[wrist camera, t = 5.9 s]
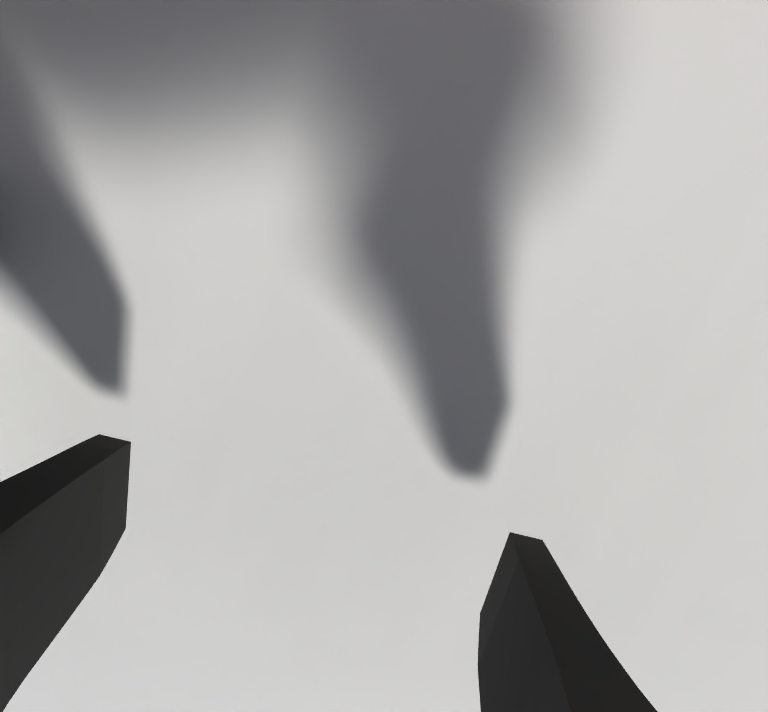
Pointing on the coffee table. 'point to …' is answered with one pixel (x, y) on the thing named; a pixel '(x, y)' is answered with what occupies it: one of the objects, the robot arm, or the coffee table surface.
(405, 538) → the coffee table surface
